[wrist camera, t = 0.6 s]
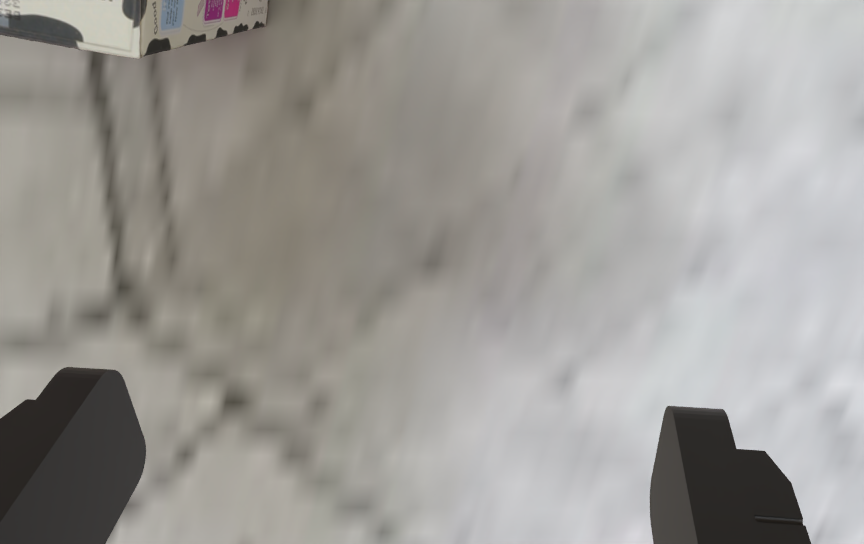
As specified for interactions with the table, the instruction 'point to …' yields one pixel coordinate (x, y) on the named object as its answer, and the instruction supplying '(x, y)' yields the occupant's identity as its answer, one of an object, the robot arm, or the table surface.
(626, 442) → the table surface
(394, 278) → the table surface
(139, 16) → the candy bar box
